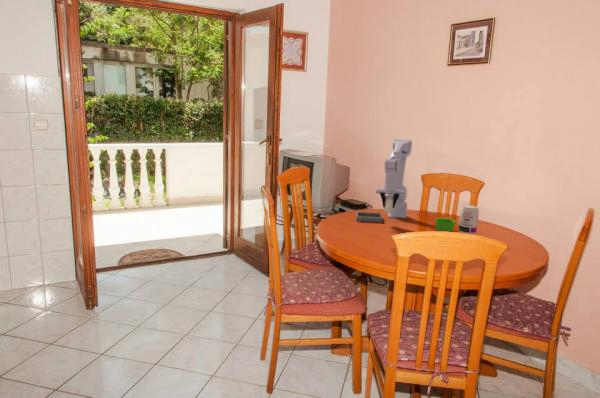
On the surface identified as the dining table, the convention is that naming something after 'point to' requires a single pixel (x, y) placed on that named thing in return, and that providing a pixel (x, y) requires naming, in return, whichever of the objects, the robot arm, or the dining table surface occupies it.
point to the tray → (369, 217)
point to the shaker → (388, 204)
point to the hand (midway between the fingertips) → (388, 207)
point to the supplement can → (468, 219)
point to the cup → (444, 224)
